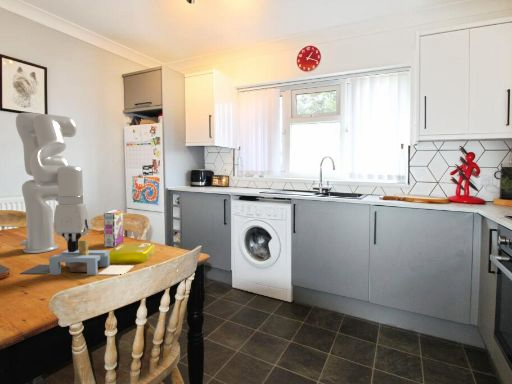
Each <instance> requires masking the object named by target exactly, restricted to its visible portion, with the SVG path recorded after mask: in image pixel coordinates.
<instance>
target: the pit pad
mask: <svg viewBox="0 0 512 384" xmlns="http://www.w3.org/2000/svg"><path fill="white" fill-rule="evenodd" d="M60 265H61V267H63V266H64V264H60ZM47 274H50V266H49V264H42V263H41V264H38V265H35V266H33V267H29V269H26V270H24V271H21V272H20V273H19V275H47Z"/></svg>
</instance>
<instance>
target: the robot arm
mask: <svg viewBox="0 0 512 384" xmlns="http://www.w3.org/2000/svg"><path fill="white" fill-rule="evenodd" d="M15 127H16V130H17V133H18V135H19V137H20V139H21V142H22V145H23V147H22V148H23V160H24V161H23V162H24V170H25V172H26V174H27V175H28V176H32V178H33V179H30V180H29V179H28V180H26V181H25V182H23V183H22V185H21V193H22V196H23V201H24V206H25V218H26V219H25V220H26V222H25V223H26V239H23V240H21V242H19V245H20V246H25V247H24V248H23V252H24V254H25V253H26V254H38V253H39V254H40V253H46V252H51V251H55V250H57V249H58V248H59V244H58V243H55V233H56V235H57V236H60V237H63V238H64V240H65V242H66V243H67V250H68V252H75V251H77V250H79V241H80V240H81V239H80V238H82V237H84V236H87V235H89V231H88V230H89V227H90V226H89V215H88V210H87V207H86V204H85V203H84V185H83V183H84V182H83V179H84V178H83V169H82V168H81V167H79V166H75V165H69V163H68V160H67V158H65V157H64V156H62V155H59V154H61V153H63V152H64V151H65V150H66V147H67V144H66V141H65V138H74V136H76V135H77V134H76V133H77V125H76V123H75V121H74V120H73V118H71V117H69V116H62V115H55V114H49V113H47V114H45V113H37V112H35V113H34V112H20V113H18V114H17V116H16V117H15ZM46 201H55V202H57V203H58V204H56V206H55V209H54V212H53V209H52V207H51V206H50V205H49V204H48V203H46ZM54 232H55V233H54Z"/></svg>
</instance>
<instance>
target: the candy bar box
mask: <svg viewBox="0 0 512 384" xmlns="http://www.w3.org/2000/svg"><path fill="white" fill-rule="evenodd" d="M103 233H104V234H103V241H104V247H103V248H116V247H117V246H119V245H121V244H122V243H123V242H124V210H123V209H112V210H110V211H107V212H106V211H105V212H104V213H103Z"/></svg>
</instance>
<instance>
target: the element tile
mask: <svg viewBox="0 0 512 384" xmlns="http://www.w3.org/2000/svg"><path fill="white" fill-rule="evenodd" d="M155 247H156V246H155V244H154V243H120V244H118V245H117V246H115V247H113V249H111V250H109V263H110V264H143V263H146V262H148V261H149V260H150V259H151V258H152V256H153V255H155V253H156V249H155Z"/></svg>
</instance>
